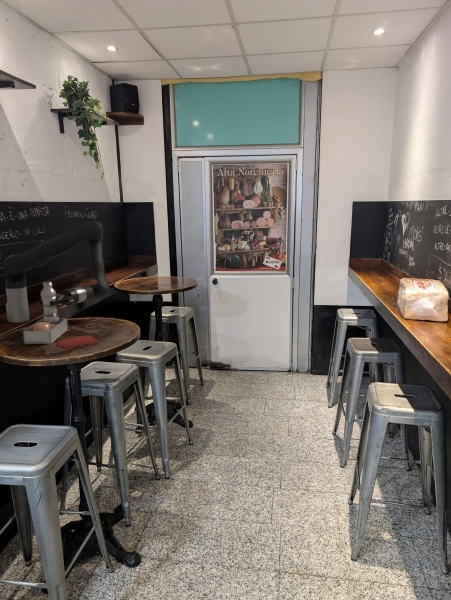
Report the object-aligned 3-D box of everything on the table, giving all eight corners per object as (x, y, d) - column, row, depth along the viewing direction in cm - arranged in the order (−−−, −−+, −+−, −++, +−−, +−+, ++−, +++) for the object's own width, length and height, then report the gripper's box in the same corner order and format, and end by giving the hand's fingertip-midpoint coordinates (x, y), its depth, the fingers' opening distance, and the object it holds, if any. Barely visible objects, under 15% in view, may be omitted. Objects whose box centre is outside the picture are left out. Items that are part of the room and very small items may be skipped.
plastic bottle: (54, 328, 187) (50, 283, 183) (40, 327, 189) (36, 283, 184) (62, 324, 193) (58, 281, 189) (49, 323, 195) (45, 280, 190)
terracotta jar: (31, 342, 178) (30, 326, 176) (37, 337, 184) (36, 322, 183) (47, 342, 178) (46, 326, 177) (53, 337, 185) (51, 322, 183)
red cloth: (62, 353, 168) (62, 348, 167) (49, 344, 178) (49, 340, 177) (103, 344, 179) (103, 339, 179) (89, 336, 189) (89, 332, 189)
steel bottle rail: (24, 345, 176) (22, 331, 175) (44, 330, 197) (42, 318, 196) (51, 345, 176) (49, 331, 175) (67, 330, 197) (66, 318, 196)
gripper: (62, 287, 203) (33, 293, 189) (84, 289, 197) (55, 296, 182) (64, 302, 205) (34, 309, 191) (85, 305, 199) (57, 313, 184)
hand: (45, 303), depth 187 cm, fingers closed on plastic bottle, 6 cm apart
